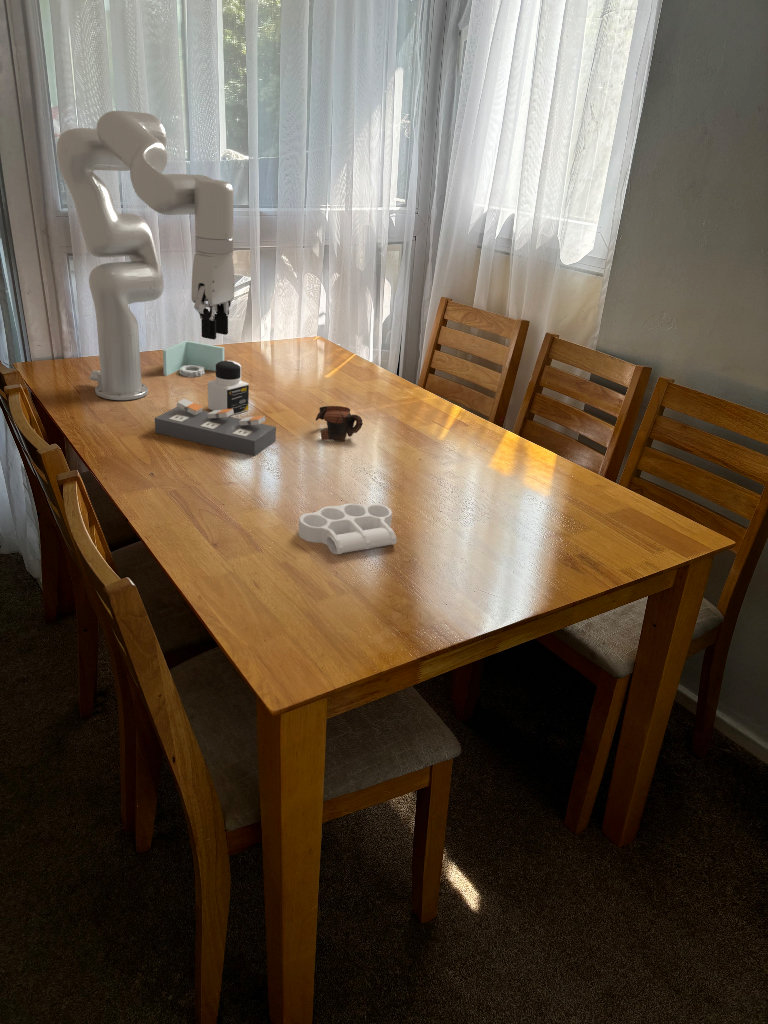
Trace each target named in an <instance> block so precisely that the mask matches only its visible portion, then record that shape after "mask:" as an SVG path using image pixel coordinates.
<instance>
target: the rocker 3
mask: <svg viewBox="0 0 768 1024" xmlns="http://www.w3.org/2000/svg"><path fill="white" fill-rule="evenodd" d="M241 419H242V420H240V421H239V424H240V425H257V424H263V423H264V422H266V416H265V415H254V416H244V418H241Z"/></svg>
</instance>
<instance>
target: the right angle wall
mask: <svg viewBox="0 0 768 1024" xmlns="http://www.w3.org/2000/svg"><path fill="white" fill-rule="evenodd" d="M162 360H163V361H162V363H163V368H162V369H163V376H165V377H167V376H170V375H171V374H174V373H176V372H177V371H179V374H180V375H181V376H183V377H187V378H196V377H203V376H204V375H205V373H206V371H211V372H216V364H217V363H218V362H221V361H225V347H223V346H218V345H213V344H208V343H201V342H197V341H190V340H186V339H185V340H183V341H181V342H178V343H177V344H174V345H171V346H169V347H168V348H165V349H163V350H162ZM205 370H206V371H205Z"/></svg>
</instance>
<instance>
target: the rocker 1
mask: <svg viewBox="0 0 768 1024" xmlns="http://www.w3.org/2000/svg"><path fill="white" fill-rule="evenodd" d="M176 407H180V408H182V409H184V410H185V411H187V412H189V413H191V414H193V415H197V414H199V413H200V412H202V410H203V409H204V407H203V406H202V405H199V404H197V403H195V402H193V401H191V400H188V399H186V398H182V399H180V400H179V401H177V403H176ZM203 411H204V410H203Z"/></svg>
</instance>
